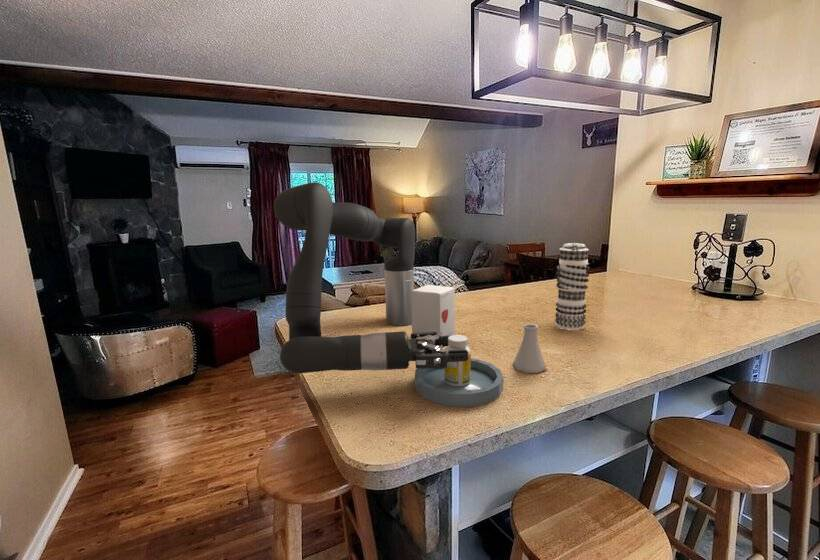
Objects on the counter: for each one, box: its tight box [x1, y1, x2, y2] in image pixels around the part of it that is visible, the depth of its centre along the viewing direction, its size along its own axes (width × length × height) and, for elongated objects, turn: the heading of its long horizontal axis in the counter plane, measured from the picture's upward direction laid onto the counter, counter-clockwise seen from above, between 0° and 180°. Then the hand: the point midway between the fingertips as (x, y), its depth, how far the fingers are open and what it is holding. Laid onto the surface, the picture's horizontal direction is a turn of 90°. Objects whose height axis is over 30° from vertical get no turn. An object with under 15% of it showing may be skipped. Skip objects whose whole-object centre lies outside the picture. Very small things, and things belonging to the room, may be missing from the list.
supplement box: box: [411, 284, 456, 349], centre depth 109 cm, size 9×9×15 cm
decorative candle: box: [554, 242, 591, 331], centre depth 118 cm, size 9×9×25 cm
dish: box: [414, 358, 504, 408], centre depth 83 cm, size 18×18×3 cm
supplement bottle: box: [444, 334, 472, 387], centre depth 82 cm, size 5×5×10 cm
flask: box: [512, 323, 547, 374], centre depth 91 cm, size 7×7×10 cm
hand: (463, 347), depth 82 cm, fingers open, 8 cm apart
